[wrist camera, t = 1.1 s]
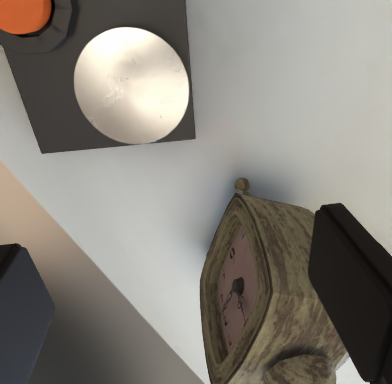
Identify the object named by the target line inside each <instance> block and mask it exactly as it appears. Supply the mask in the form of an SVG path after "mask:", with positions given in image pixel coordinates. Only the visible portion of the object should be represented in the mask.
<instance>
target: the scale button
mask: <svg viewBox="0 0 392 384" xmlns="http://www.w3.org/2000/svg"><path fill="white" fill-rule="evenodd" d="M51 6H52V5H51V0H0V29H2V30H3V31H6V32H9V33H12V34H25V33H31V32H35V31H38V30H40V29H41V28H43V27H44V26H45V25H46V23H47V22H48V20H49V18H50V15H51Z"/></svg>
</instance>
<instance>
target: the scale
mask: <svg viewBox="0 0 392 384" xmlns="http://www.w3.org/2000/svg"><path fill="white" fill-rule="evenodd" d="M51 5H52V6H51V15H50V18H49V20H48V22H47V23H46V25H45V26H44V27H43V28H41V29H40V30H38V31H35V32H31V33H25V34H12V33H9V32H6V31H3V30H2V29H0V45H2V46H3V48H4V51H5V54H6V57H7V59H8V62H9V65H10V68H11V71H12V73H13V76H14V79H15V82H16V84H17V87H18V90H19V93H20V95H21V98H22V101H23V104H24V106H25V109H26V112H27V115H28V117H29V120H30V123H31V126H32V128H33V131H34V134H35V137H36V139H37V142H38V145H39V148H40V150H41V153H42V154H44V153H55V152H65V151H76V150H86V149H97V148H107V147H118V146H128V145H139V144H127V143H123V142H119V141H116V140H114V139H111V138H109V137H107V136H106V135H104V134H103V133H101V132H100V131H99V130H97V129H96V128H95V127H94V126H93V125H92V124H91V123H90V122H89V121H88V119H87V118H86V117H85V115H84V114H83V112H82V110H81V108H80V106H79V104H78V101H77V98H76V95H75V90H74V70H75V65H76V62H77V60H78V57H79V55H80V53H81V51H82V50H83V48H84V47H85V46H86V44H87V43H88V42H89V41H90V40H91V39H93V38H94V37H95V36H97V35H98V34H100V33H102V32H104V31H106V30H109V29H112V28H117V27H137V28H142V29H145V30H148V31H150V32H152V33H155V34H156V35H158V36H160V37H161V38H162V39H164V40H165V41H166V42H167V43H169V44H170V46H171V47H172V48H173V49H174V50H175V51H176V53H177V54H178V55H179V57H180V59H181V60H182V62H183V64H184V67H185V69H186V73H187V76H188V81H189V101H188V105H187V109H186V111H185V114H184V116H183V118H182V119H181V121H180V122H179V124H178V125H177V126H176V127H175V128H174V129H173V131H171V132H170V133H169V134H168V135H166V136H164V137H163V138H161V139H159V140H156V141H154V142H150V143H160V142H170V141H181V140H191V139H196V138H195V124H194V111H193V98H192V84H191V71H190V58H189V45H188V31H187V18H186V5H185V0H51ZM145 144H149V143H145Z"/></svg>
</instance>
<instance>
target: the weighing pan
mask: <svg viewBox="0 0 392 384" xmlns="http://www.w3.org/2000/svg"><path fill="white" fill-rule="evenodd" d="M74 90H75V95H76V98H77V101H78V104H79V106H80V108H81V110H82V112H83V114H84V115H85V117H86V118H87V119H88V121H89V122H90V123H91V124H92V125H93V126H94V127H95V128H96V129H97V130H99V131H100V132H101V133H103V134H104V135H106V136H107V137H109V138H111V139H114V140H116V141H119V142H123V143H127V144H145V143H150V142H154V141H156V140H159V139H161V138H163V137H164V136H166V135H168V134H169V133H170V132H171V131H173V129H174V128H175V127H176V126H177V125H178V124H179V122H180V121H181V119H182V118H183V116H184V114H185V111H186V109H187V105H188V101H189V81H188V76H187V73H186V69H185V67H184V64H183V62H182V60H181V59H180V57H179V55H178V54H177V53H176V51H175V50H174V49H173V48H172V47H171V46H170V44H169V43H167V42H166V41H165V40H164V39H162V38H161V37H160V36H158V35H156V34H155V33H152V32H150V31H148V30H145V29H142V28H137V27H117V28H112V29H109V30H106V31H104V32H102V33H100V34H98V35H97V36H95V37H94V38H93V39H91V40H90V41H89V42H88V43H87V44H86V46H85V47H84V48H83V50H82V51H81V53H80V55H79V57H78V60H77V62H76V65H75V70H74Z"/></svg>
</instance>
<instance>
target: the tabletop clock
mask: <svg viewBox="0 0 392 384" xmlns="http://www.w3.org/2000/svg"><path fill="white" fill-rule="evenodd" d="M249 187H250V183H249V182H248V180H247V179H245V178H240V179H238V180H237V181H236V183H235V188H236V189H237V190H238V191H239V192H243V194H244V195H243V194H239V193H235V195H234V196H233V198H232V199H231V201H230V202H229V204H228V206H227V208H226V210H225V213H224V215H223V217H222V219H221V222H220V224H219V226H218V229H217V231H216V233H215V236H214V238H213V241H212V244H211V246H210V249H209V251H208V253H207V257H206V260H205V263H204V267H203V270H202V274H201V278H200V309H201V322H202V334H203V341H204V349H205V356H206V363H207V369H208V374H209V379H210V383H211V384H336V373H335V371H336V370H338V369H339V368H340V367H341V366H342V365H343V364H344V363H345V362H346V361H347V360H348V358H349V357H350V356H349V354H348V352H347V350H346V348H345V346H344V344H343V343H342V341H341V339H340V337H339V335H338V333H337V331H336V329H335V327H334V326H333V324H332V322H331V320H330V318H329V316H328V314H327V312H326V310H325V308H324V307H323V305H322V303H321V301H320V299H319V297H318V295H317V293H316V291H315V290H314V288H313V286H312V284H311V282H310V280H309V277H308V264H309V256H310V248H311V240H312V233H313V225H314V217H315V214H314V213H312V212H311V211H310V210H308V209H305V208H302V207H299V206H294V205H289V204H285V203H280V202H276V201H271V200H266V199H262V198H257V197H252V196H250V194H249V193H248V189H249Z"/></svg>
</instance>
